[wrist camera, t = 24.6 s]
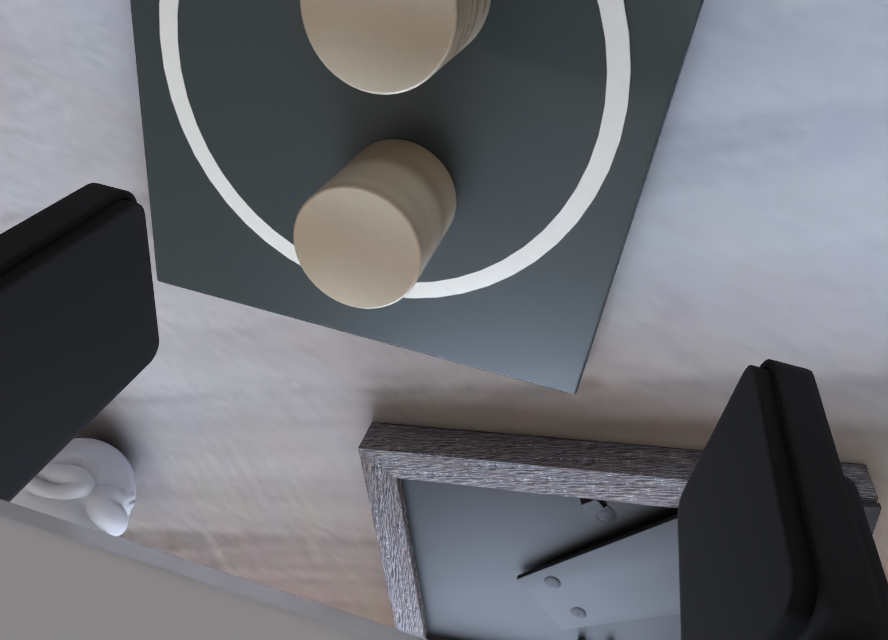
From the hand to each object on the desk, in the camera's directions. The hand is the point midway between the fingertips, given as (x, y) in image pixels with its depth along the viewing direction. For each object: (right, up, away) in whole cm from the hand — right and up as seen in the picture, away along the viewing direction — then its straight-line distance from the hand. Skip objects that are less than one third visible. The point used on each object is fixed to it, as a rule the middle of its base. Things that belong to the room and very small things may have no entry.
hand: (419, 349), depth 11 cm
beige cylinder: (-1, +4, +11) cm, 12 cm away
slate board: (-1, +8, +10) cm, 13 cm away
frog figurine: (-16, -6, +24) cm, 29 cm away
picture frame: (+7, -10, +19) cm, 22 cm away
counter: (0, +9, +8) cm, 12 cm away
